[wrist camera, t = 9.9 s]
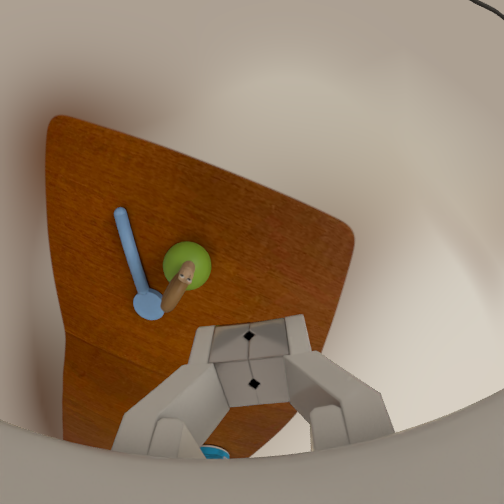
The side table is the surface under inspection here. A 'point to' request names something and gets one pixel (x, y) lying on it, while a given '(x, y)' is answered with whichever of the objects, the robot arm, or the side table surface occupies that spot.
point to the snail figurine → (184, 271)
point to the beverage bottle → (214, 452)
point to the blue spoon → (137, 271)
